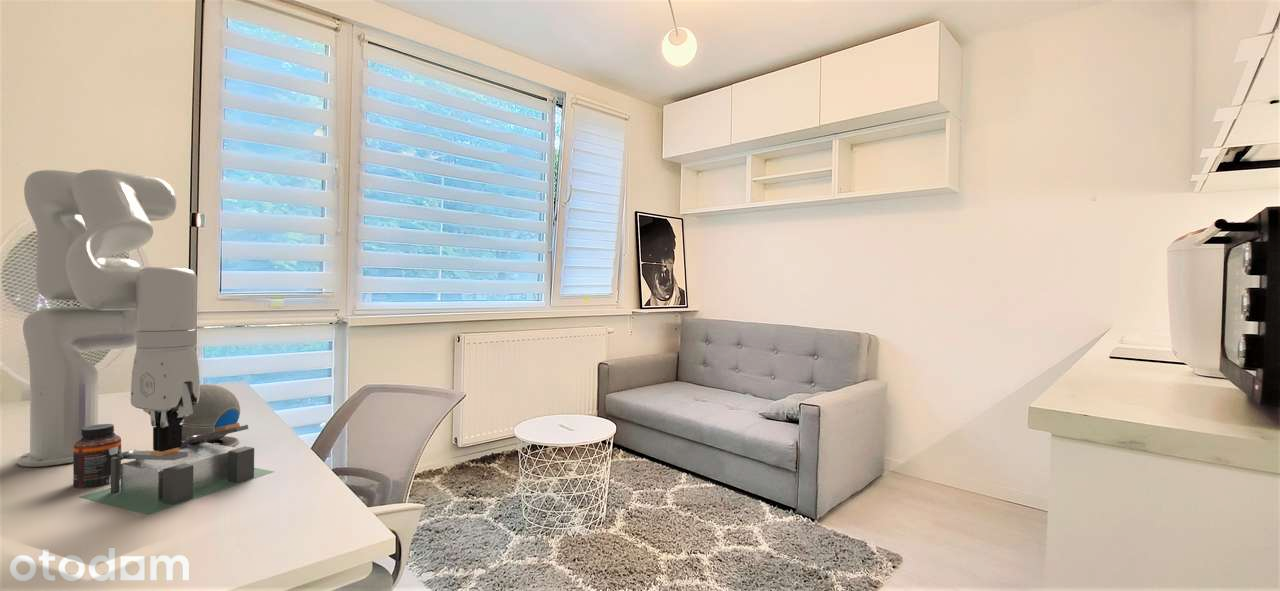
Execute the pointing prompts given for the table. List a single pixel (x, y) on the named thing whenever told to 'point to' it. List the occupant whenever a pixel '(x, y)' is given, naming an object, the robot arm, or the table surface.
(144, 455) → the strap
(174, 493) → the board
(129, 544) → the table surface
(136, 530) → the table surface
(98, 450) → the supplement bottle
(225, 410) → the grey egg-shaped pod
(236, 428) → the strap
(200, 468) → the plate
